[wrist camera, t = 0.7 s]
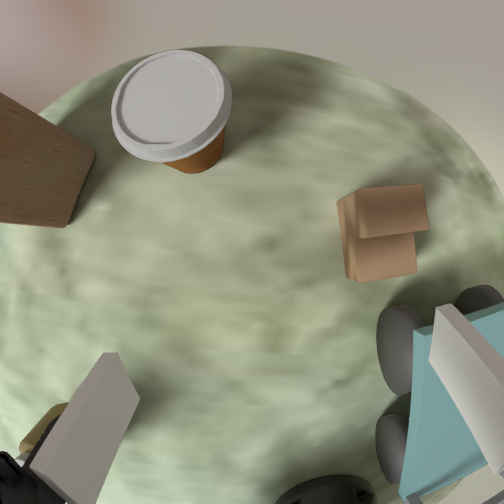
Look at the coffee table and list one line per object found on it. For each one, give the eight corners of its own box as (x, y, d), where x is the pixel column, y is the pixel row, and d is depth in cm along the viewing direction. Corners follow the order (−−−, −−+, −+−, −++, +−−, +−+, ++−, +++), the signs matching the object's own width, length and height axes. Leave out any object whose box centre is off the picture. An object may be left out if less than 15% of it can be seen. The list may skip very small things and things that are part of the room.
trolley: (453, 428, 32) (523, 493, 14) (373, 456, 32) (425, 549, 14) (464, 281, 32) (577, 300, 13) (374, 301, 32) (481, 349, 13)
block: (101, 151, 32) (-17, 79, 12) (68, 231, 32) (-68, 221, 12) (47, 132, 32) (-60, 75, 12) (18, 203, 32) (-100, 183, 12)
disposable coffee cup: (249, 173, 32) (247, 132, 20) (162, 200, 32) (114, 176, 20) (226, 96, 31) (214, 31, 19) (145, 122, 32) (100, 71, 20)
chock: (395, 269, 32) (433, 275, 24) (345, 277, 32) (373, 287, 24) (386, 197, 32) (422, 184, 24) (336, 202, 32) (361, 188, 24)
